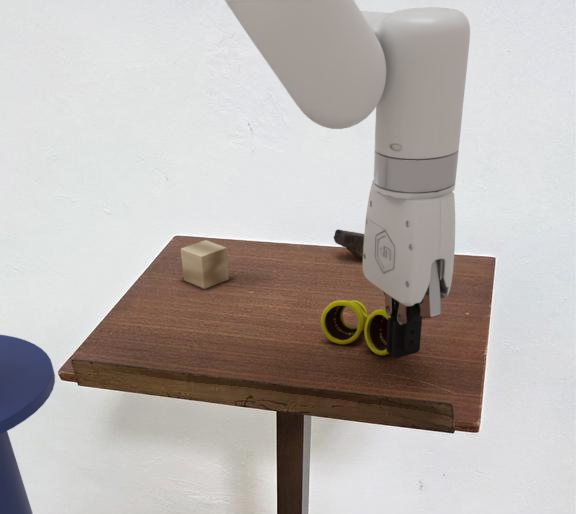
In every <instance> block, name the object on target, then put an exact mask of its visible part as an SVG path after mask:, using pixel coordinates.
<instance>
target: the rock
mask: <svg viewBox="0 0 576 514" xmlns="http://www.w3.org/2000/svg"><path fill="white" fill-rule="evenodd" d="M333 241H334V242H335V244H337V245H339V246H341V247H343V248H345V249H346V250H347V251H348V252H350V253H351V254H353V256H355V257H357V258H360V259H362V260H363V245H364V233H361V232H355V231H349V230H343V229H340V228H339V229H336V230H335V232H334V235H333Z"/></svg>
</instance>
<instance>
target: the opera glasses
mask: <svg viewBox="0 0 576 514" xmlns="http://www.w3.org/2000/svg"><path fill="white" fill-rule="evenodd" d="M346 308H349V309H350V310H351V311H352V312H354V314H355V316H356V319H357V326H350V325H348V323H346V321H345V320H344V311H345V309H346ZM390 317H391V316H387V314H386V311H385V309H381V308H380V309H376V310H374V311H372V312H371V313H370V314H369V315H368V310H367V308H366V306H365V304H363V303H362V302H361V301H358V300H354V299H353V300H352V299H351V300H346V299H337V300H335V301H332V302H331V303H329V304H328V305H326V307H325V308H324V309H323V311H322V312H321V316H320V328H321V331H322V332H323V335H325V337H326V338H327V339H328V340H329V341H330V342H332V343H333V344H337V345H348V344H351V343H353V342H355V341H357V339H358V338H359V337H360V335H361V334H362V332H363V331H364V332H363V333H364V340H365V343H366V345H367V346H368V348H369V350H370V351H372V352H373V353H374V354H375V355H378V356H387V355H390V354H389V353H388V352H387V351H386V344H387V325H388V318H390Z"/></svg>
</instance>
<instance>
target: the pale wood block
mask: <svg viewBox="0 0 576 514" xmlns="http://www.w3.org/2000/svg"><path fill="white" fill-rule="evenodd" d="M180 257H181V266H182V275H183V281H184V282H187V283H189V284H191V285H193V286H196V287H199V288H201V289H203V290H207V289H208V288H211V287H214V286H215V285H219V284H222V283H223V282H226V281H229V280H230V275H229V259H228V248H227V246H223V245H221V244H218V243H215V242H212V241H209V240H207V239H205V240H202V241H199V242H196V243H193V244H190V245H187V246H185V247H181V248H180Z"/></svg>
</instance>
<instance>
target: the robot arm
mask: <svg viewBox="0 0 576 514" xmlns="http://www.w3.org/2000/svg"><path fill="white" fill-rule="evenodd" d="M224 2H225V3H226V4H227V6H228V7H229V9H230V10H231V12H232V13H233V15H234V16H235V18H236V19H237V21H238V22H239V24H240V26H241V27H242V28H243V30H244V31H245V33H246V34H247V36H248V38H250V40H251V42H252V43H253V45H254V46H255V47H256V49H257V51H258V52H259V53H260V55H261V57H262V58H263V59H264V60H265V61H266V63H267V65H268V66H269V68H270V69H271V70H272V72H273V73H274V75H275V76H276V77H277V79H278V80H279V82H280V83H281V85H282V86H283V87H284V89H285V90H286V92H287V93H288V95H289V96H290V98H291V99H292V100H293V102H294V103H295V105H296V107H298V108H299V110H300V111H301V112H302V114H304V116H306V118H308V119H309V120H310V121H311V122H313V123H314V124H316V125H319V126H321V127H323V128H326V129H331V130H343V129H348V128H351V127H354V126H356V125H358V124H360V123H362V122H363V121H364V120H366V119H367V118H368V117H369V116H370V115H371V114H372V113H373V112H374V110H375V127H374V154H373V156H374V158H373V162H374V163H373V180H372V181H371V182H372V183H371V186H370V190H369V195H368V200H367V207H366V213H365V214H366V215H365V223H364V232H363V234H364V245H363V259H362V273H363V276H364V277H365V279H366V280H367V281H368V282H370V283H371V284H372V285H373V286H375V287H376V288H378V289H379V290H381V291H382V293H383V294H384V308H385V309H384V310H385V311H386V314H387V316H391V317H390V318H388V325H387V344H386V351H387V352H388V353H389V354H388V355H391V357H393V358H394V359H399V358H403V357H407V356H411V355H414V354H417V353H419V351H420V349H421V337H422V336H421V335H422V325H423V324H422V323H423V321H424V320H425V319H432V318H437V317H439V316H441V314H442V305H441V304H442V302H441V299H445V298H447V297H448V296H449V293H450V292H451V288H452V287H451V286H452V281H453V274H454V263H455V250H456V249H455V248H456V201H455V193H454V191H455V189H456V180H457V172H458V161H459V152H460V151H459V149H460V142H461V133H462V132H461V130H462V121H463V109H464V100H465V99H464V98H465V89H466V81H467V70H468V61H469V53H470V51H469V50H470V42H471V41H470V40H471V25H470V22H469V19H468V17H467V16H466V14H465V13H463V11H460V10H458V9H455V8H449V7H440V6H439V7H438V6H437V7H436V6H435V7H433V6H432V7H431V6H428V7H426V6H425V7H411V8H403V9H399V10H395V11H393V12H382V11H381V12H380V11H368V10H367V11H366V10H361V9H360V7H359V6H358V4H357V3H356V1H355V0H224Z"/></svg>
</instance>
